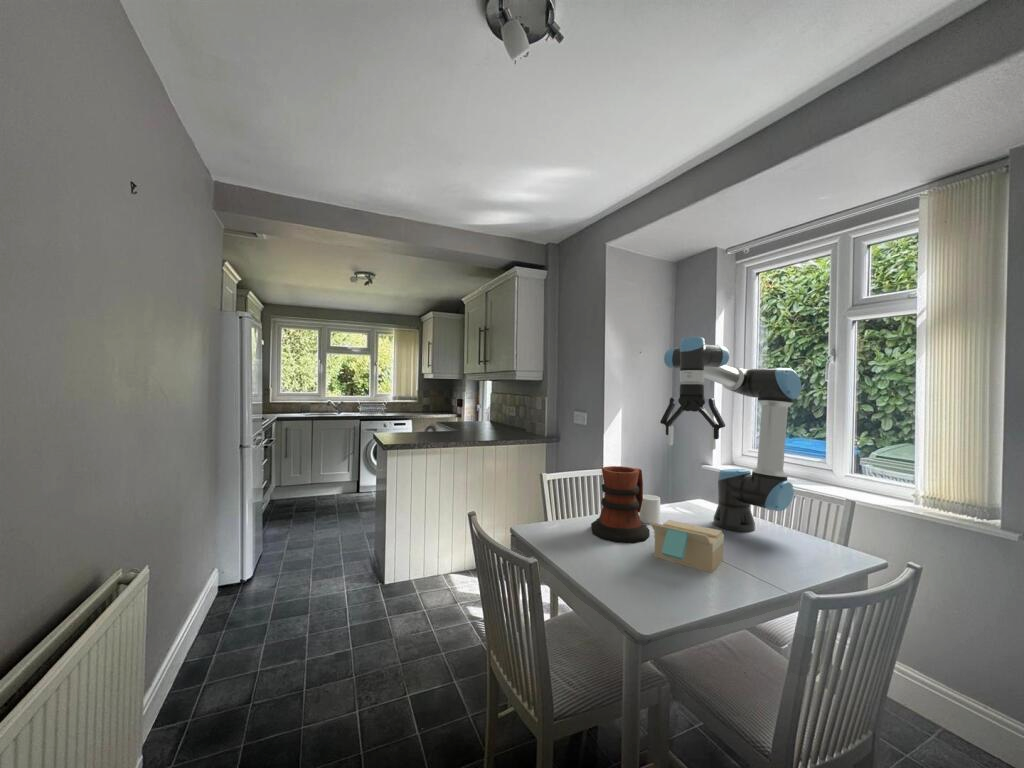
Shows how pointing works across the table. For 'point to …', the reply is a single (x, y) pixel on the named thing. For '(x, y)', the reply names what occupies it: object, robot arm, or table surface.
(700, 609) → the table surface
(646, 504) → the cup
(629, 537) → the tankard
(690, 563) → the carton
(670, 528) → the flap
